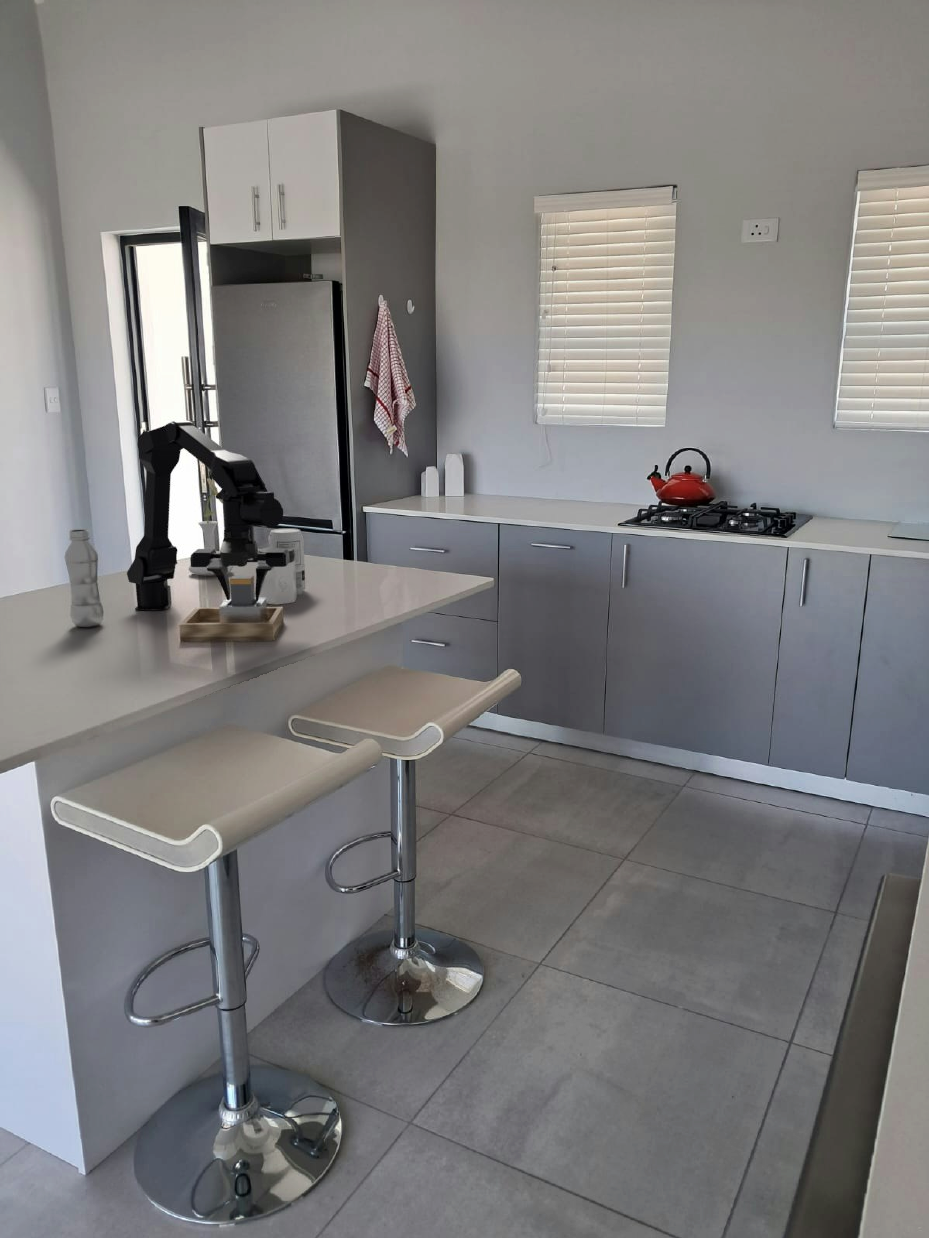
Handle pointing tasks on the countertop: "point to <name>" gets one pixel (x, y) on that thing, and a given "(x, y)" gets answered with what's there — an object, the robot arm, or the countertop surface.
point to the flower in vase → (208, 535)
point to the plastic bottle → (83, 580)
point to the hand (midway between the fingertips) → (243, 599)
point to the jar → (280, 581)
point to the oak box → (228, 627)
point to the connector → (242, 590)
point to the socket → (243, 612)
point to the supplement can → (295, 541)
